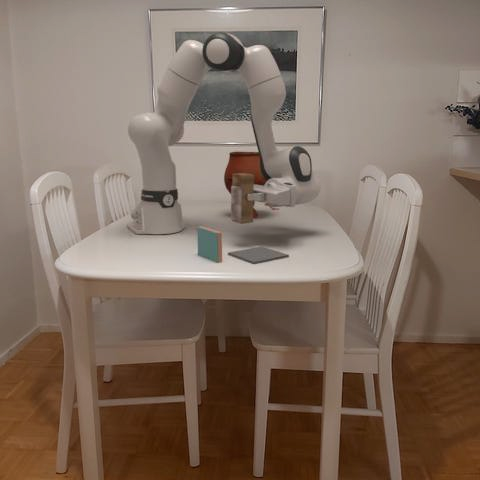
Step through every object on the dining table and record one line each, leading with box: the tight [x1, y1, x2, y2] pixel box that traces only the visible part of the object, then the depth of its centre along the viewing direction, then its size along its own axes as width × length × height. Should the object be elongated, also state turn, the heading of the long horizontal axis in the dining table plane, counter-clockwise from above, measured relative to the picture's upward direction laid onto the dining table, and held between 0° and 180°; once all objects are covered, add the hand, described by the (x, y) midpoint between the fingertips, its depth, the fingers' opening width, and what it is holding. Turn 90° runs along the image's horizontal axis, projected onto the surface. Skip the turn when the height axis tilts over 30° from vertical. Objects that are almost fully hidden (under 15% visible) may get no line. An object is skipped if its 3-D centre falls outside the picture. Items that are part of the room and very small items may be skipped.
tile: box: [196, 225, 223, 263], centre depth 133 cm, size 10×2×8 cm, turn 36°
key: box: [263, 203, 280, 211], centre depth 216 cm, size 6×1×15 cm
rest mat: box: [227, 245, 290, 265], centre depth 136 cm, size 12×12×1 cm
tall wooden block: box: [230, 173, 254, 225], centre depth 145 cm, size 5×5×14 cm
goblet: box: [223, 151, 267, 219], centre depth 192 cm, size 19×19×25 cm
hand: (240, 195), depth 144 cm, fingers closed on tall wooden block, 5 cm apart
